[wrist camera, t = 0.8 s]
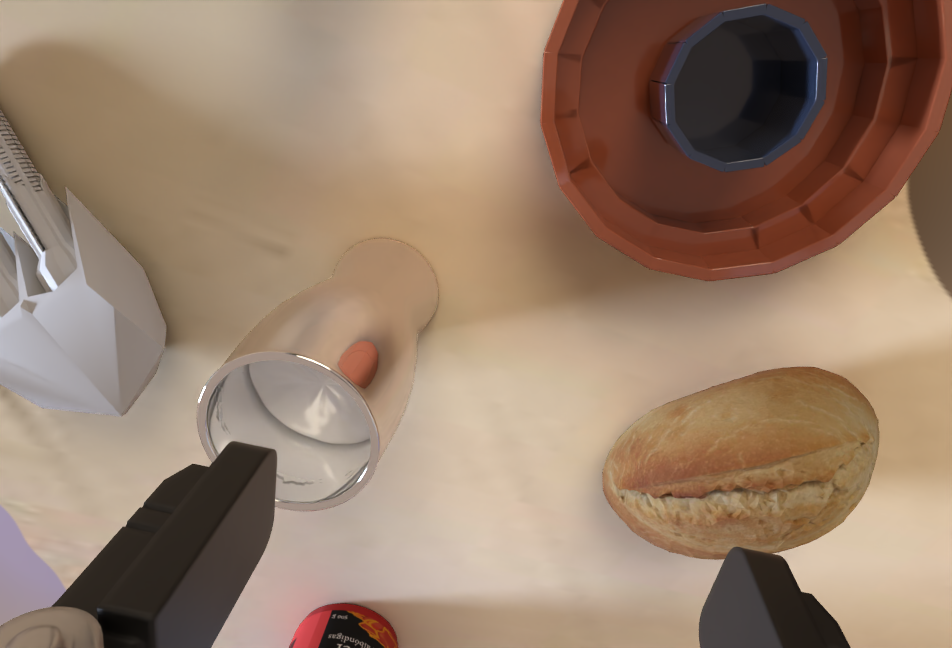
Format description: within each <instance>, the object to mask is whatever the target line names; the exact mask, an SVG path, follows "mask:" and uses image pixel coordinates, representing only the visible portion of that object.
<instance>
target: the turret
mask: <svg viewBox="0 0 952 648" xmlns="http://www.w3.org/2000/svg"><path fill="white" fill-rule="evenodd" d="M0 190H1V192H2V193H3V195H4V197H5V198H6V204H7V206H8V208H9V210H10V212H11V213H12V215H13V216H14V218H15V220H16V221H17V223H18V225H19V226H20V228H21V230H22V231H23V233H24V235H25V236H26V238H27V240H28V241H29V243H30V245H31V246H32V247H31V246H29V245H28V244H27V243H26V242H25V241H24V240H23V239H22V238H20V237H19V236H18V235H17V234H16V233H15V232H14V231H13V233H14V238H13V237H11V236H10V235H9V234H8V233H7V232H6V231H4V230H3V229H2V228H1V227H0V384H1V385H3V386H4V387H6V388H8V389H10V390H11V391H13V392H15V393H17V394H18V395H20V396H22V397H24V398H25V399H27V400H29V401H31V402H32V403H34V404H36V405H38V406H39V407H41V408H46V409H56V410H65V411H75V412H84V413H94V414H103V415H113V416H123V415H125V414H126V413H127V412H128V410H129V409H130V408H131V406H132V405H133V404H134V402H135V401H136V400H137V398H138V397H139V396H140V394H141V393H142V391H143V390H144V389H145V387H146V386H147V385H148V383H149V382H150V381H151V379H152V378H153V377H154V375H155V374H156V372H157V369H158V366H159V363H160V360H161V357H162V354H163V351H164V348H165V338H166V328H167V326H166V324H165V321H164V319H163V316H162V314H161V311H160V309H159V306H158V304H157V301H156V299H155V296H154V294H153V291H152V289H151V286H150V284H149V281H148V279H147V276H146V274H145V271H144V269H143V267H142V266H141V265H140V264H139V263H138V262H137V261H136V260H135V259H134V258H133V257H132V256H131V254H130V253H129V252H128V251H127V250H126V249H125V248H124V247H123V246H122V245H121V244H120V243H119V242H118V241H117V240H116V239H115V238H114V237H113V236H112V234H111V233H110V232H109V231H108V230H107V229H106V228H105V227H104V226H103V225H102V224H101V223H100V222H99V221H98V220H97V219H96V218H95V217H94V215H93V214H92V213H91V212H90V211H89V210H88V209H87V208H86V207H85V206H84V205H83V204H82V203H81V202H80V201H79V200H78V199H77V198H76V197H75V195H74V194H73V193H72V192H71V191H70V190H69V189H68V188H67V187H66V186H65V190H66V196H67V203H68V206H67V205H65V204H64V203H63V202H62V201H61V200H60V199H59V198H57V197H56V196H55V195H53V193H52V191H51V190H50V188H49V186H48V185H47V183H46V181H45V179H44V178H43V176H42V175H41V174H40V173H38V172H37V171H36V169H35V167H34V165H33V164H32V162H31V160H30V159H29V157H28V155H27V153H26V152H25V150H24V148H23V147H22V145H21V143H20V142H19V140H18V138H17V136H16V135H15V133H14V131H13V130H12V128H11V126H10V125H9V123H8V121H7V119H6V118H5V116H4V114H3V113H2V111H1V109H0Z"/></svg>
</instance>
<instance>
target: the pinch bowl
mask: <svg viewBox="0 0 952 648" xmlns="http://www.w3.org/2000/svg"><path fill="white" fill-rule="evenodd" d="M826 56H827V54H826V52H825V50H824V49H823V47H822V45H821V43H820V42H819V40H818V38H817V37H816V35H815V33H814V31H813V30H812V28H811V26H810V24H809V23H808V21H805V19H804V18H802V17H799V16H797V15H795V14H792V13H790V12H788V11H785V10H783V9H781V8H778V7H776V6H774V5H771V4H766V3H763V4H758V5H752V6H747V7H741V8H736V9H730V10H725V11H721V12H717V13H713V14H709V15H705V16H701V17H699V18H696V19H695V20H694V21H692V22H691V23H690V24H689V25H687V26H686V27H685V28H684V29H682V30H681V31H680V32H679V33H677V34H676V35H675V36H674V37H673V38H671V39H670V40H669V41H668V42H667V44H665V45H664V47H663V50H662V52H661V54H660V56H659V58H658V60H657V63H656V65H655V67H654V69H653V71H652V74H651V76H650V78H649V80H650V81H649V99H650V116H651V117H652V118H651V119H652V120H653V122H654V123H655V125H656V126H657V127H658V129H659V130H660V132H661V133H662V135H663V136H664V138H665V139H666V141H667V142H668V144H669V145H671V146H672V147H673V148H675V149H676V150H678V151H679V152H681V153H682V154H684V155H685V156H686V157H688V158H689V159H692V160H694V161H696V162H699V163H701V164H704V165H706V166H709V167H711V168H714V169H716V170H718V171H721V172H732V171H739V170H746V169H753V168H760V167H764V165H765V166H767V165H769V164H770V163H771V162H773V161H774V160H776V159H777V158H779V157H780V156H782V155H783V154H784V153H786V152H787V151H789V150H790V149H792V148H793V147H795V146H796V145H797V144H799V143H800V142H801V140H803V139H804V138H805V136H806V134H807V132H808V131H809V129H810V127H811V126H812V124H813V122H814V120H815V119H816V117H817V115H818V113H819V112H820V110H821V108H822V107H823V105H824V103H825V102H824V100H826V86H827V65H828V58H827V57H826ZM800 139H801V140H800Z"/></svg>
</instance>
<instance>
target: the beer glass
mask: <svg viewBox="0 0 952 648" xmlns="http://www.w3.org/2000/svg"><path fill="white" fill-rule="evenodd" d="M438 296H439V291H438V283H437V279H436V276H435V274H434V271H433V269H432V268H431V266H430V264H429V263H428V261H427V260H426V259H425V258H424V257H423V256H422V255H421V254H420V253H419V252H418V251H417V250H415V249H414V248H413V247H411V246H409V245H407V244H405V243H403V242H401V241H398V240H394V239H388V238H374V239H369V240H365V241H362V242H360V243H358V244H356V245H354V246H353V247H351V248H350V249H349V250H347V251H346V252H345V253H344V255H343V256H342V257H341V258H340V260H339V261H338V263H337V265H336V267H335V269H334V271H333V274H332V277H331V278H329V279H327V280H324V281H322V282H320V283H317V284H315V285H313V286H311V287H309V288H307V289H304V290H303V291H301V292H299V293H297V294H296V295H294V296H292V297H291V298H289V299H287V300H285V301H284V302H282V303H281V304H280V305H278V306H277V307H276V308H275V309H274V310H272V311H271V312H270V313H269V314H268V315H266V316H265V317H264V318H263V319H262V320H261V321H260V322H259V323H258V324H257V325H256V326H255V327H254V328H253V329H252V330H251V331H250V332H249V333H248V334H247V335H246V336H245V338H244V339H243V340H242V341H241V342H240V343H239V345H238V346H237V347H236V348H235V350H234V351H233V352H232V353H231V354H230V356H229V357H228V358H227V360H226V361H225V362H224V364H223V365H222V366H221V367H220V368H219V369H218V370H217V371H216V372H215V373H214V374H213V375H212V376H211V377H210V379H209V380H208V381H207V383H206V385H205V386H204V388H203V390H202V393H201V395H200V398H199V402H198V407H197V426H198V432H199V436H200V439H201V442H202V445H203V447H204V449H205V451H206V453H207V455H208V457H209V459H210V460H211V462H212V463H213V462H214V460H215V459H216V458H217V457H218V455H219V454H220V453H221V452H222V450H223V449H224V448H225V447H226V446H227V444H228V443H230V442H231V441H237V442H242V443H247V444H251V445H256V446H261V447H266V448H271V449H275V450H276V452H277V474H276V492H275V507H277V508H281V509H286V510H293V511H316V510H323V509H327V508H331V507H334V506H337V505H340V504H342V503H344V502H346V501H348V500H349V499H351V498H353V497H354V496H355V495H357V494H358V493H359V492H360V491H361V490H362V489H363V488H364V487H365V486H366V485H367V483H368V482H369V481H370V479H371V478H372V476H373V474H374V472H375V470H376V467H377V464H378V462H379V460H380V459H381V457H382V455H383V454H384V452H385V450H386V448H387V447H388V445H389V443H390V441H391V439H392V437H393V435H394V434H395V432H396V430H397V427H398V425H399V423H400V421H401V418H402V416H403V414H404V412H405V409H406V406H407V403H408V400H409V397H410V394H411V391H412V387H413V382H414V376H415V369H416V360H417V335H418V333H419V332H420V331H421V330H422V329H423V328H424V327H425V326H426V325H427V324H428V323H429V321H430V320H431V318H432V316H433V315H434V313H435V310H436V307H437V303H438Z"/></svg>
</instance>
